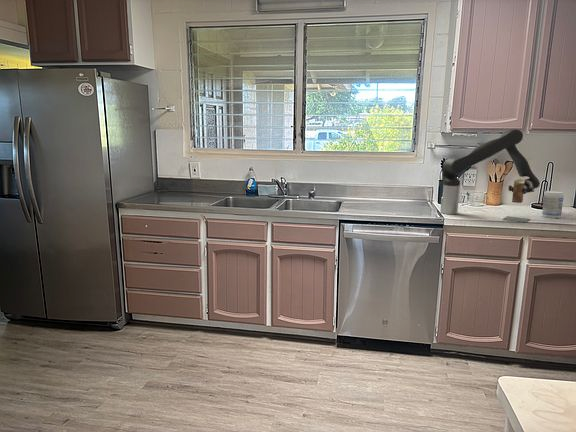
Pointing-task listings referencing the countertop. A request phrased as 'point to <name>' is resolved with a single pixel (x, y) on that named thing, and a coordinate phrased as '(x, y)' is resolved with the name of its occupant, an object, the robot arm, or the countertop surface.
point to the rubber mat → (516, 219)
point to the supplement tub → (552, 204)
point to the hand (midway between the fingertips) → (517, 190)
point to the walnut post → (518, 190)
